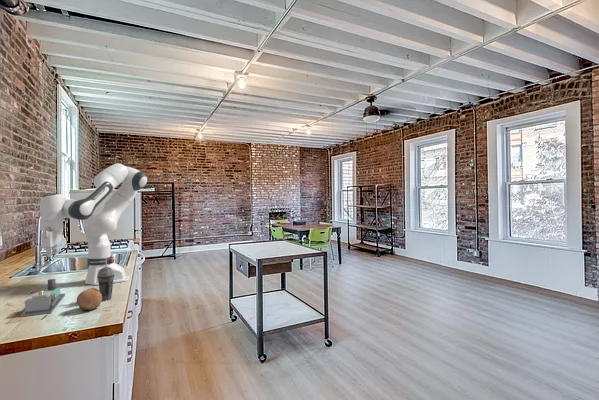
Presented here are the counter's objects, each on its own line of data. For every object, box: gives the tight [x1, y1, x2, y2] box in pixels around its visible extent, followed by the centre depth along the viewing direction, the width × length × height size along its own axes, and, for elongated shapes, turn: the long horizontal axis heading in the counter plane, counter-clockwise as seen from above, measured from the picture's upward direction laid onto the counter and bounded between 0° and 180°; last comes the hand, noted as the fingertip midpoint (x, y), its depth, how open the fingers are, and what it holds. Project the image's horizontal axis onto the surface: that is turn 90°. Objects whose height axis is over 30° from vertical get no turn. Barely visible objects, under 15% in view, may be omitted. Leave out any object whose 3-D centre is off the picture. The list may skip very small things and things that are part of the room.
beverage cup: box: [97, 258, 115, 302], centre depth 151 cm, size 7×7×20 cm
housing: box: [31, 289, 50, 299], centre depth 137 cm, size 5×5×7 cm
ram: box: [43, 278, 61, 300], centre depth 149 cm, size 6×11×8 cm, turn 26°
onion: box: [76, 287, 103, 311], centre depth 138 cm, size 10×9×10 cm
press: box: [20, 293, 66, 318], centre depth 142 cm, size 10×26×6 cm, turn 26°
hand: (52, 254), depth 152 cm, fingers open, 8 cm apart
